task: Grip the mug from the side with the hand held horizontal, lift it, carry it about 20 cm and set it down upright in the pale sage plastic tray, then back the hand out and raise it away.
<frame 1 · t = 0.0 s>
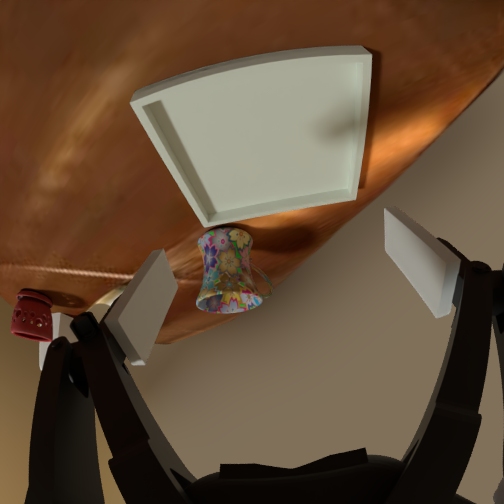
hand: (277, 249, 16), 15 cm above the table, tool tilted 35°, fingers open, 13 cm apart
plant pot: (36, 295, 58), on the table
mug: (232, 238, 44), on the table
milk: (62, 318, 77), on the table
tray: (266, 141, 27), on the table
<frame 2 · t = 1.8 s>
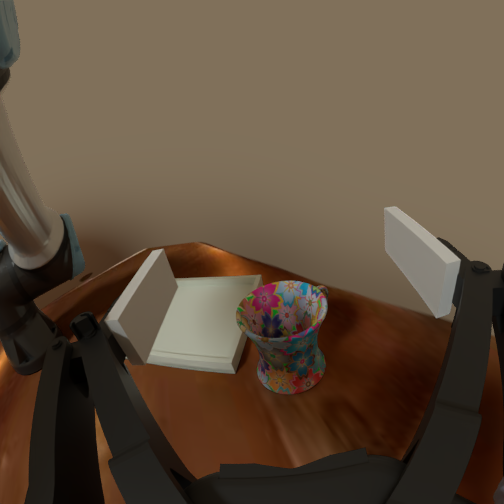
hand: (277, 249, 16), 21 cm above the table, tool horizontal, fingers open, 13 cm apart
mug: (299, 364, 33), on the table
tray: (193, 321, 45), on the table
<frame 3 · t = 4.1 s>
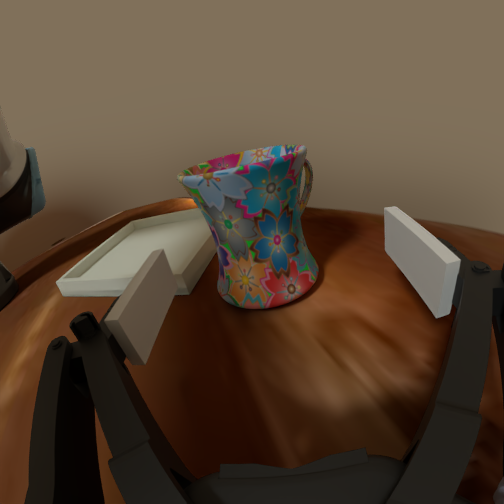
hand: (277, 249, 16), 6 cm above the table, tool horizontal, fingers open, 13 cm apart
mug: (280, 278, 24), on the table
tray: (153, 252, 36), on the table
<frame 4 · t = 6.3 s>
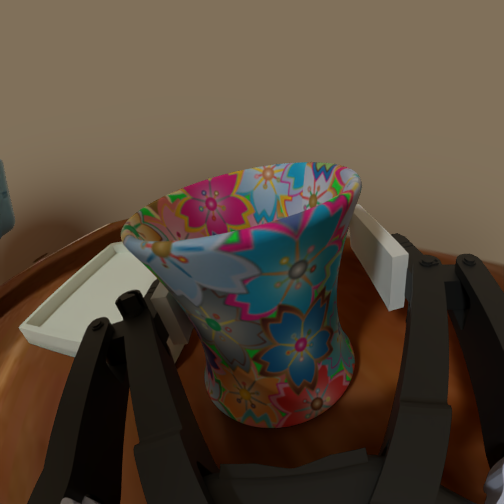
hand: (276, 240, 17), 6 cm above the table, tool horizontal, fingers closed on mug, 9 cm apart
mug: (296, 360, 16), on the table, touching gripper
tray: (130, 292, 28), on the table
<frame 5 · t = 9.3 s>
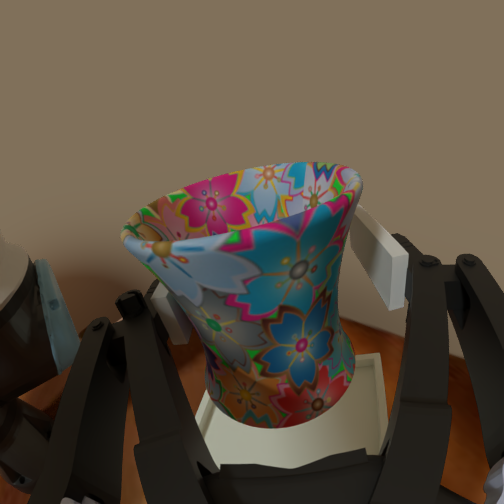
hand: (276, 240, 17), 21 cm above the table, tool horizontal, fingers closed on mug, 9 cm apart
mug: (297, 360, 16), point 15 cm above the table, touching gripper
tray: (288, 440, 23), on the table
when the fingers open (8 cm above the table, at t = 12.5 s): mug drops 1 cm, resting on tray.
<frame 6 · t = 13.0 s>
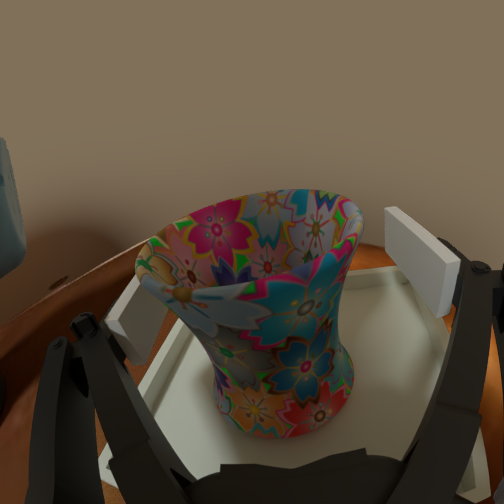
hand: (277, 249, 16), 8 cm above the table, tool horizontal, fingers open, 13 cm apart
mug: (299, 373, 16), point 1 cm above the table, touching tray
tray: (299, 385, 16), on the table
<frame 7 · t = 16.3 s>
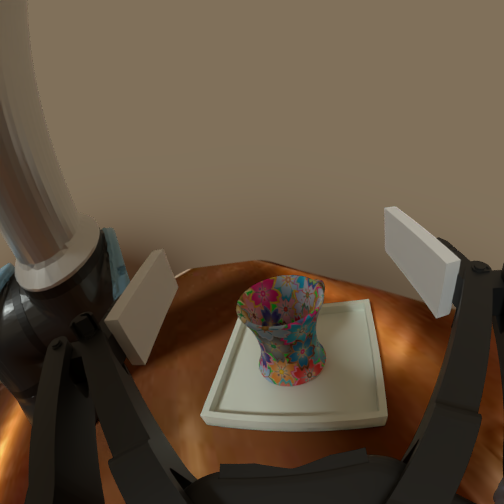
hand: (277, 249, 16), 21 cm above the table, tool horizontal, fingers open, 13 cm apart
mug: (300, 358, 34), point 1 cm above the table, touching tray
tray: (300, 364, 34), on the table
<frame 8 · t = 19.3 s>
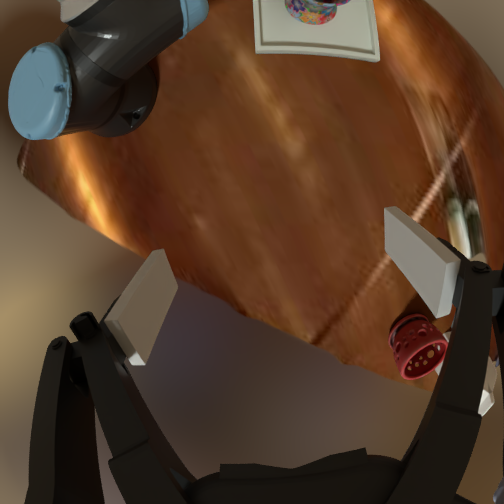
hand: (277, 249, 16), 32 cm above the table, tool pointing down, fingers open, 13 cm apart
plant pot: (407, 327, 60), on the table
mug: (314, 2, 30), point 1 cm above the table, touching tray
milk: (451, 344, 63), on the table
tray: (314, 6, 31), on the table
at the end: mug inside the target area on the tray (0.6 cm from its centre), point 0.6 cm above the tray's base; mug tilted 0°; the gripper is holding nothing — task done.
